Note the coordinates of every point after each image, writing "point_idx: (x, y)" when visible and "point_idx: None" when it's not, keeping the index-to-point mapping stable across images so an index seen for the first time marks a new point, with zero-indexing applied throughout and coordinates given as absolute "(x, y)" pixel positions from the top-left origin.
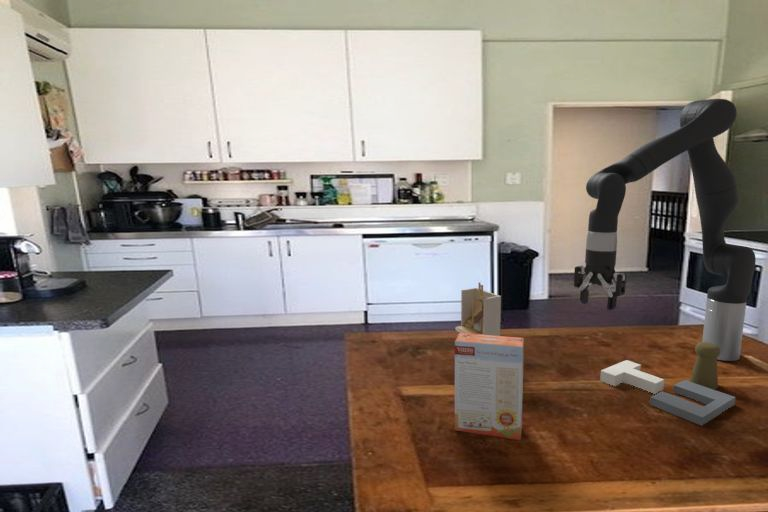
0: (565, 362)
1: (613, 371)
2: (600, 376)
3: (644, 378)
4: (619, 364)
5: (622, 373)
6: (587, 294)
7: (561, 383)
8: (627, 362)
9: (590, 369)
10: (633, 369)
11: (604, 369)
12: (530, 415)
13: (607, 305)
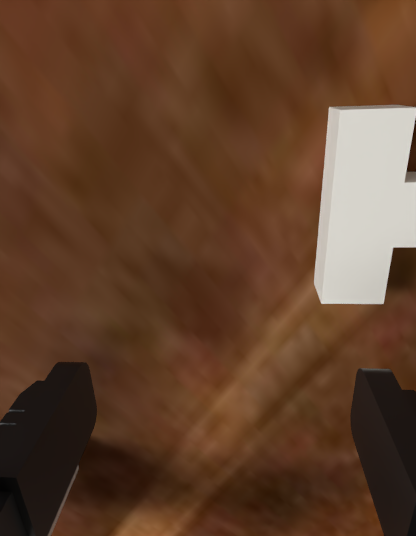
0: (140, 249)
1: (360, 275)
2: (317, 291)
3: None
4: (343, 191)
5: (390, 257)
6: (49, 448)
7: (247, 384)
8: (358, 138)
9: (235, 228)
10: (411, 192)
11: (326, 286)
12: (305, 532)
13: (363, 467)
